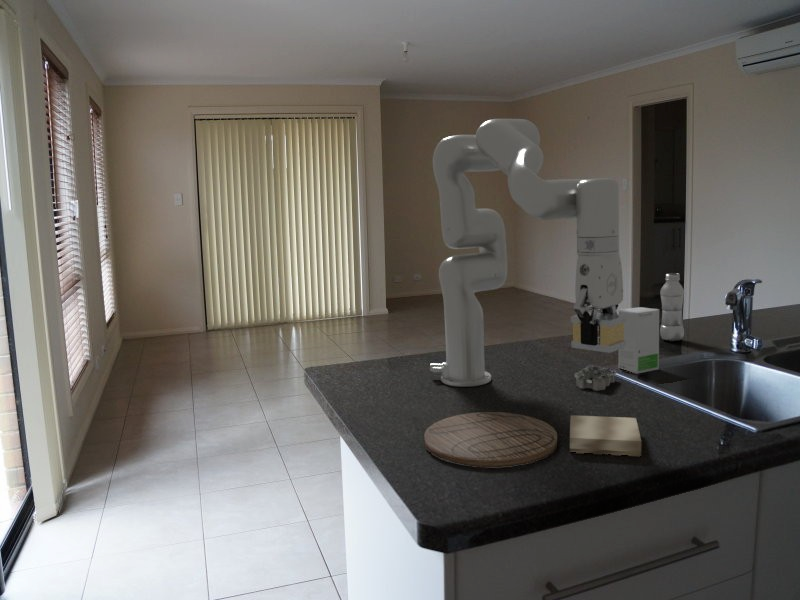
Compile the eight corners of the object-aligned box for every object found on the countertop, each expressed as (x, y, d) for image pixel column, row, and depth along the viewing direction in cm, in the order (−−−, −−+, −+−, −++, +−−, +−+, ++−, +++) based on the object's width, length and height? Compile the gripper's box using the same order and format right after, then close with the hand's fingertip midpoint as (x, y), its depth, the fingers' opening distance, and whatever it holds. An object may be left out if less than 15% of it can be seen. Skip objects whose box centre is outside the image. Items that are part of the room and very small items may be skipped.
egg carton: (601, 393, 152) (601, 376, 152) (571, 388, 157) (571, 371, 156) (619, 381, 160) (619, 365, 160) (589, 377, 165) (589, 361, 164)
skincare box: (636, 374, 164) (636, 313, 162) (616, 369, 170) (616, 309, 168) (660, 369, 168) (661, 308, 166) (639, 364, 174) (640, 305, 171)
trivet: (403, 435, 132) (402, 426, 132) (509, 413, 142) (509, 404, 142) (465, 482, 110) (464, 471, 109) (586, 452, 120) (586, 442, 119)
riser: (569, 453, 118) (569, 437, 118) (570, 430, 130) (570, 415, 129) (641, 457, 115) (641, 441, 114) (635, 432, 126) (635, 417, 126)
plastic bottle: (687, 342, 194) (689, 274, 191) (664, 343, 194) (665, 275, 191) (678, 337, 200) (680, 272, 197) (656, 338, 201) (657, 273, 197)
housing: (610, 352, 121) (609, 320, 120) (571, 347, 126) (570, 316, 125) (625, 346, 125) (625, 315, 124) (587, 341, 130) (587, 311, 130)
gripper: (592, 250, 114) (593, 352, 117) (638, 242, 126) (638, 335, 129) (554, 250, 119) (556, 347, 122) (602, 241, 131) (603, 331, 134)
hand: (598, 340), depth 125 cm, fingers closed on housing, 6 cm apart
